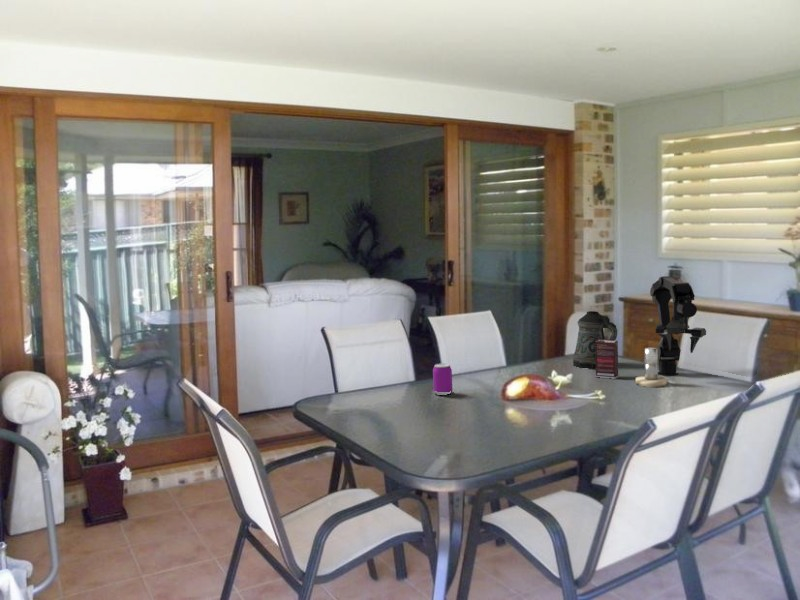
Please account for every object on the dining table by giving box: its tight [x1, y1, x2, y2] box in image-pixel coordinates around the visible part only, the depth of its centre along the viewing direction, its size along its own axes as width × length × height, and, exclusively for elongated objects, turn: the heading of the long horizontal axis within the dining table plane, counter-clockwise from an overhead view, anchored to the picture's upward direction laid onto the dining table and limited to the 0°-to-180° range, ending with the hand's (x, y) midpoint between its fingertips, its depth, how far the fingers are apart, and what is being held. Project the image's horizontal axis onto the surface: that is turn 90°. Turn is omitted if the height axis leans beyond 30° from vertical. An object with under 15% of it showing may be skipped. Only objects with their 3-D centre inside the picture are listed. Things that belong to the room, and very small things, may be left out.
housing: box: [644, 347, 659, 380], centre depth 298 cm, size 5×5×12 cm
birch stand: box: [635, 375, 668, 388], centre depth 299 cm, size 12×12×2 cm
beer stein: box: [572, 310, 618, 370], centre depth 335 cm, size 16×19×25 cm
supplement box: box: [595, 339, 619, 380], centre depth 312 cm, size 9×5×16 cm, turn 58°
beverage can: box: [432, 363, 453, 392], centre depth 296 cm, size 8×8×12 cm
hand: (680, 351), depth 297 cm, fingers open, 9 cm apart
